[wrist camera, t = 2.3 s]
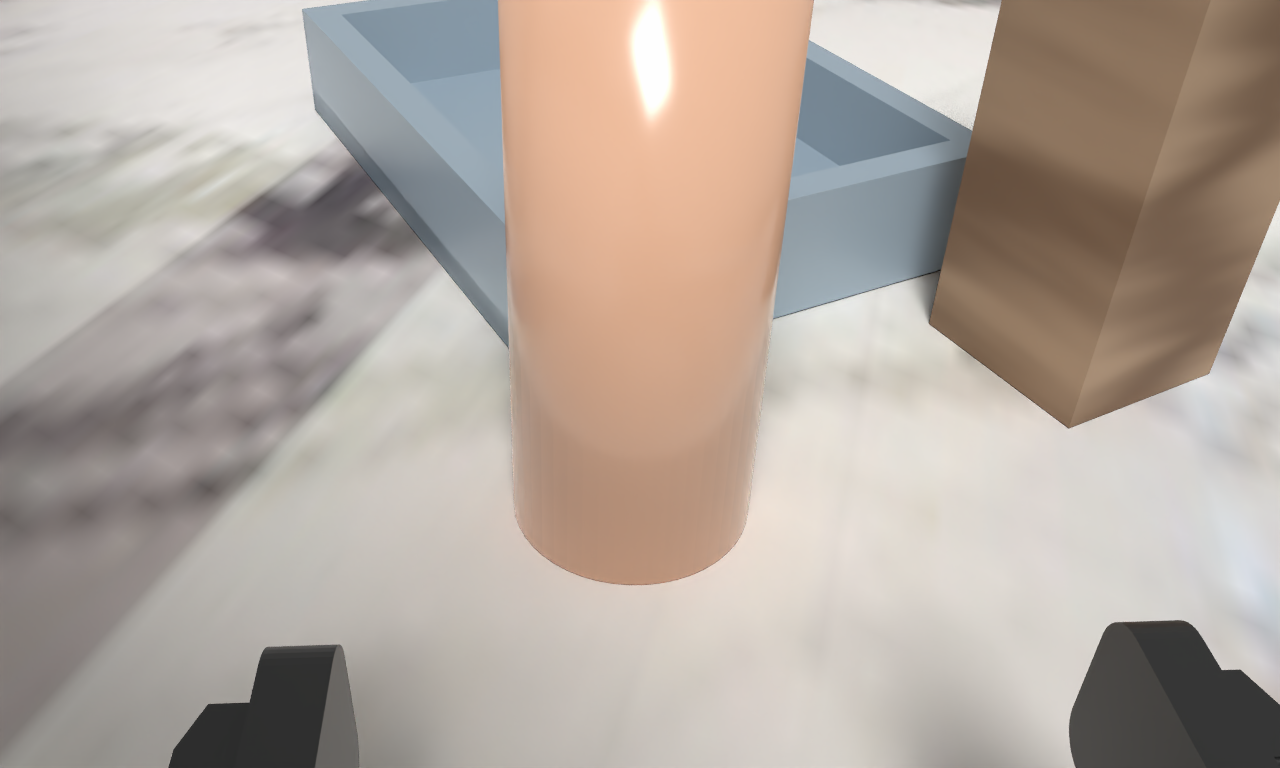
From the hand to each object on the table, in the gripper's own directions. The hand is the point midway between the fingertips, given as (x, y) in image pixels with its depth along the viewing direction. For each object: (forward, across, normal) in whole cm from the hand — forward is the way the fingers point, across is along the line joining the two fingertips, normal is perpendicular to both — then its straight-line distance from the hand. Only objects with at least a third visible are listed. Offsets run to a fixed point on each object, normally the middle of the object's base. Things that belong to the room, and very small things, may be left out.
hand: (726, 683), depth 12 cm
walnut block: (+16, -12, +7) cm, 21 cm away
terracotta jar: (+11, 0, +7) cm, 13 cm away
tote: (+26, -1, +7) cm, 27 cm away
